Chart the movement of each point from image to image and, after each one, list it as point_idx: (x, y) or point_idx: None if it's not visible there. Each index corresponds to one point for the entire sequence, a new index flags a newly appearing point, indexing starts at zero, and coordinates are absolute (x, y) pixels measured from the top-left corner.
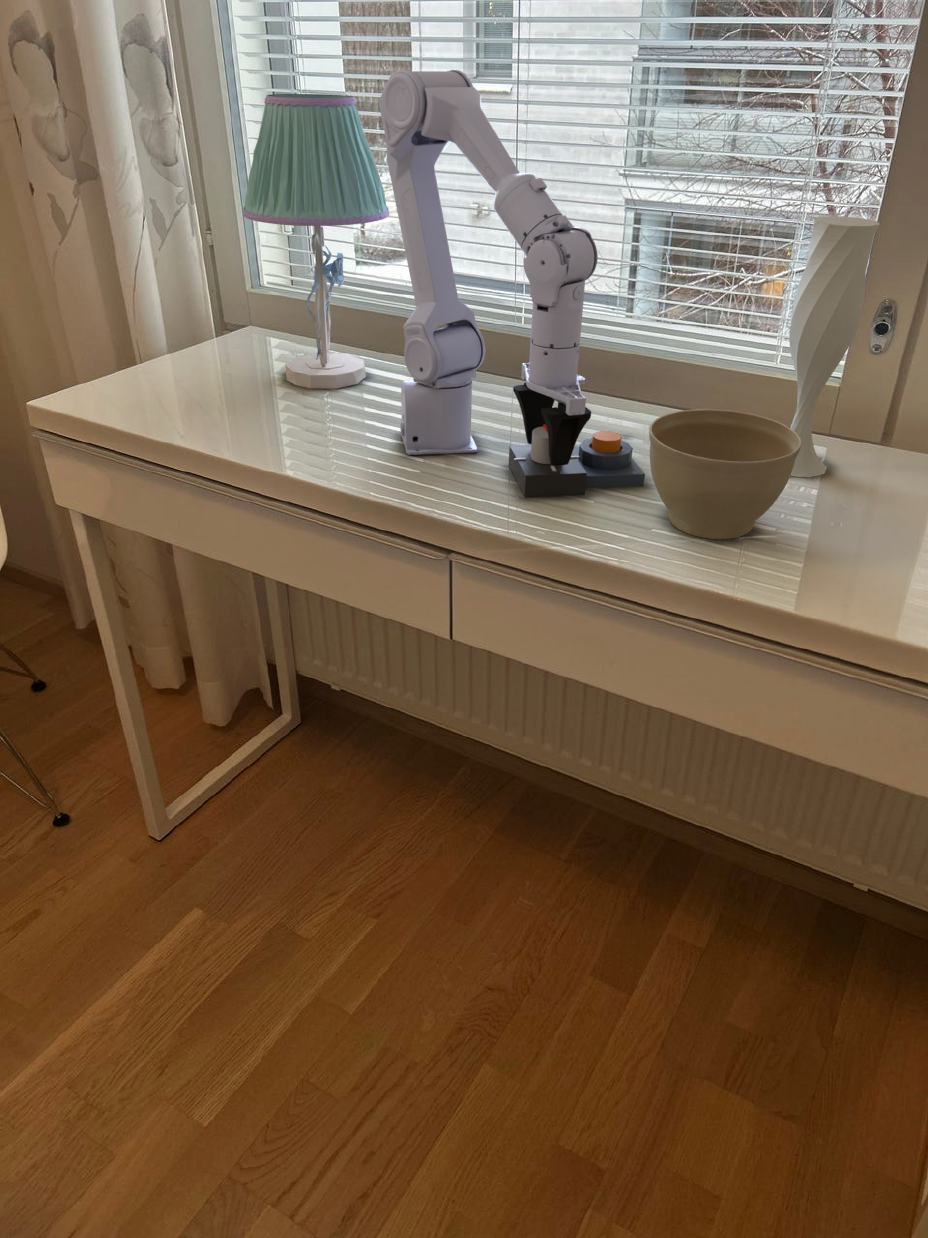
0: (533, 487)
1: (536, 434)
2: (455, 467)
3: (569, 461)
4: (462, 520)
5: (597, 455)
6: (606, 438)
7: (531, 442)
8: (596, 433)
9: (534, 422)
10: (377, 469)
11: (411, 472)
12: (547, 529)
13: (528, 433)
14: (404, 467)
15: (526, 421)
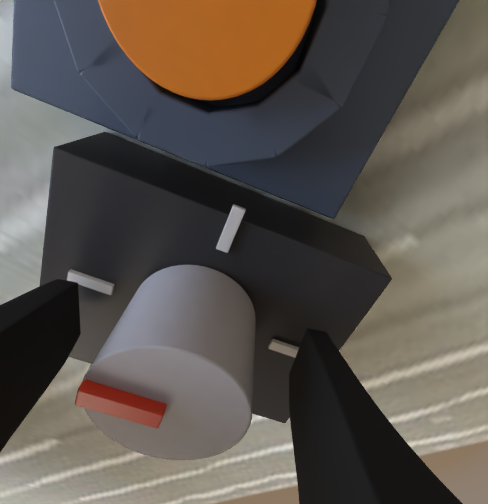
0: None
1: (174, 455)
2: (47, 387)
3: (259, 267)
4: None
5: (298, 141)
6: (250, 22)
7: (77, 332)
8: (126, 24)
9: (14, 396)
10: (28, 477)
11: (56, 450)
12: (442, 404)
13: (54, 373)
14: (27, 448)
15: (13, 432)
